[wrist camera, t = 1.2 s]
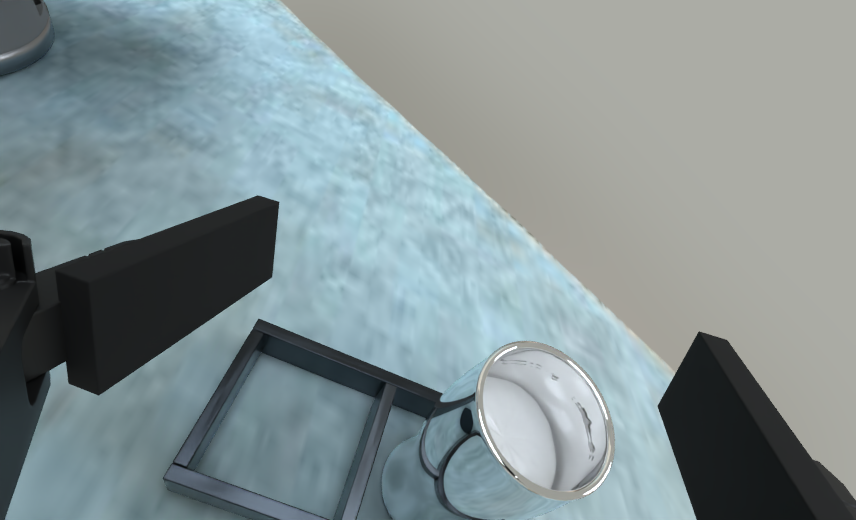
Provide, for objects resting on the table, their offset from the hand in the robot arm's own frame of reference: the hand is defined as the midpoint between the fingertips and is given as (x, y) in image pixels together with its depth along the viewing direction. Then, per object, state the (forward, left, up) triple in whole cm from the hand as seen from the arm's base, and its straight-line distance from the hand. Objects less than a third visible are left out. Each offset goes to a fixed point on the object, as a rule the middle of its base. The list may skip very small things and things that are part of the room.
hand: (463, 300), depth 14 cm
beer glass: (-1, +6, -20) cm, 21 cm away
